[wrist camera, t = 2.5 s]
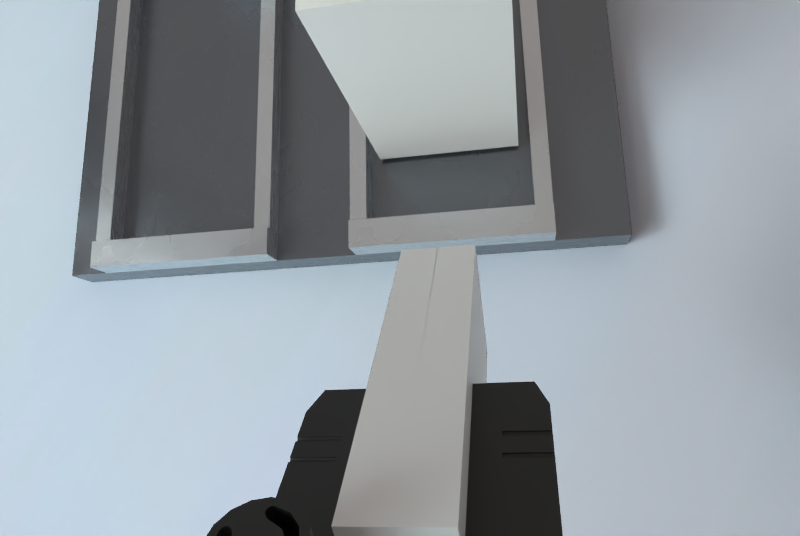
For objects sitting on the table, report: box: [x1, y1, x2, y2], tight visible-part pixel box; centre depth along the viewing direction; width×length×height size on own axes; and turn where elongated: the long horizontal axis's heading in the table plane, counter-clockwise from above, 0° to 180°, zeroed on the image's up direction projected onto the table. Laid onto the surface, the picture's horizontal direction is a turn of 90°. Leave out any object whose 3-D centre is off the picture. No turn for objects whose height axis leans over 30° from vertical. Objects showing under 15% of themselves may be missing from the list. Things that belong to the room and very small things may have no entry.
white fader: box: [295, 0, 518, 159], centre depth 19 cm, size 4×5×9 cm
